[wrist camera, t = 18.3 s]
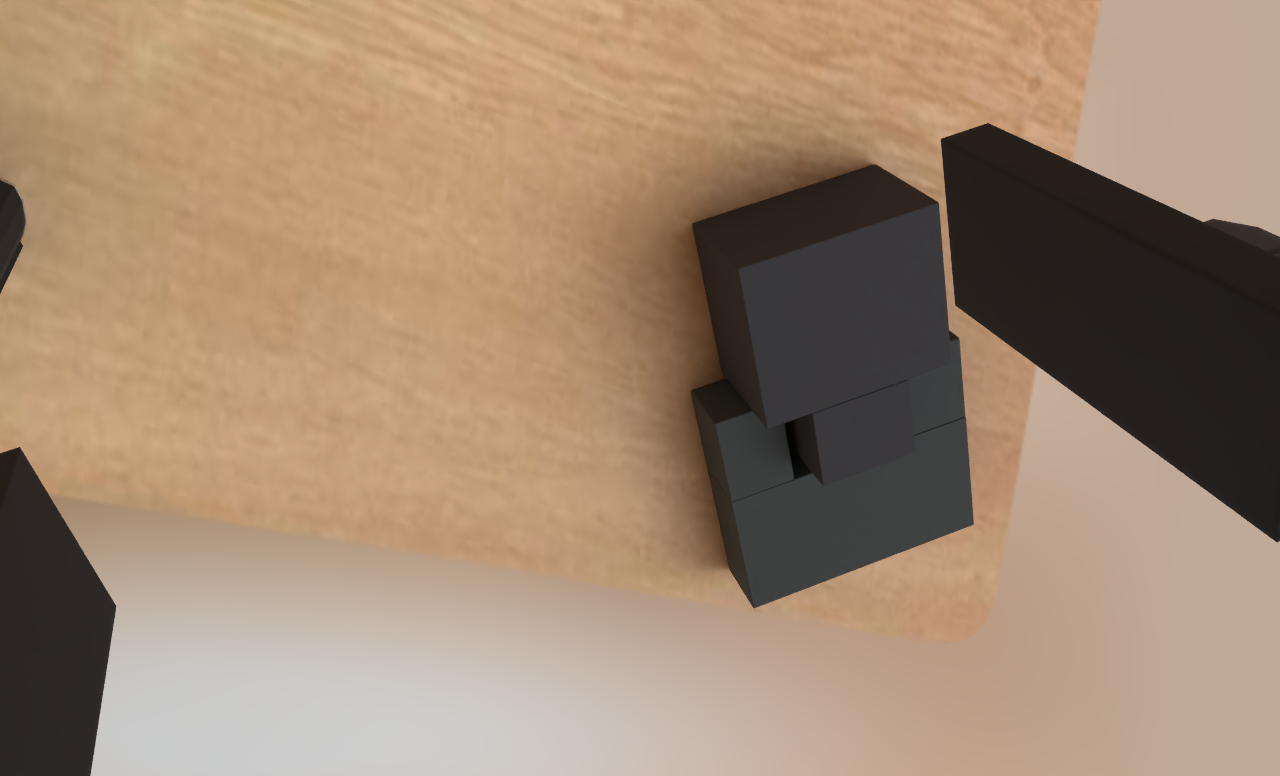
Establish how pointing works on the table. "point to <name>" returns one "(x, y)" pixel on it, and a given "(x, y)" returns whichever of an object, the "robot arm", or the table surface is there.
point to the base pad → (832, 490)
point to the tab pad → (830, 313)
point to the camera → (10, 228)
